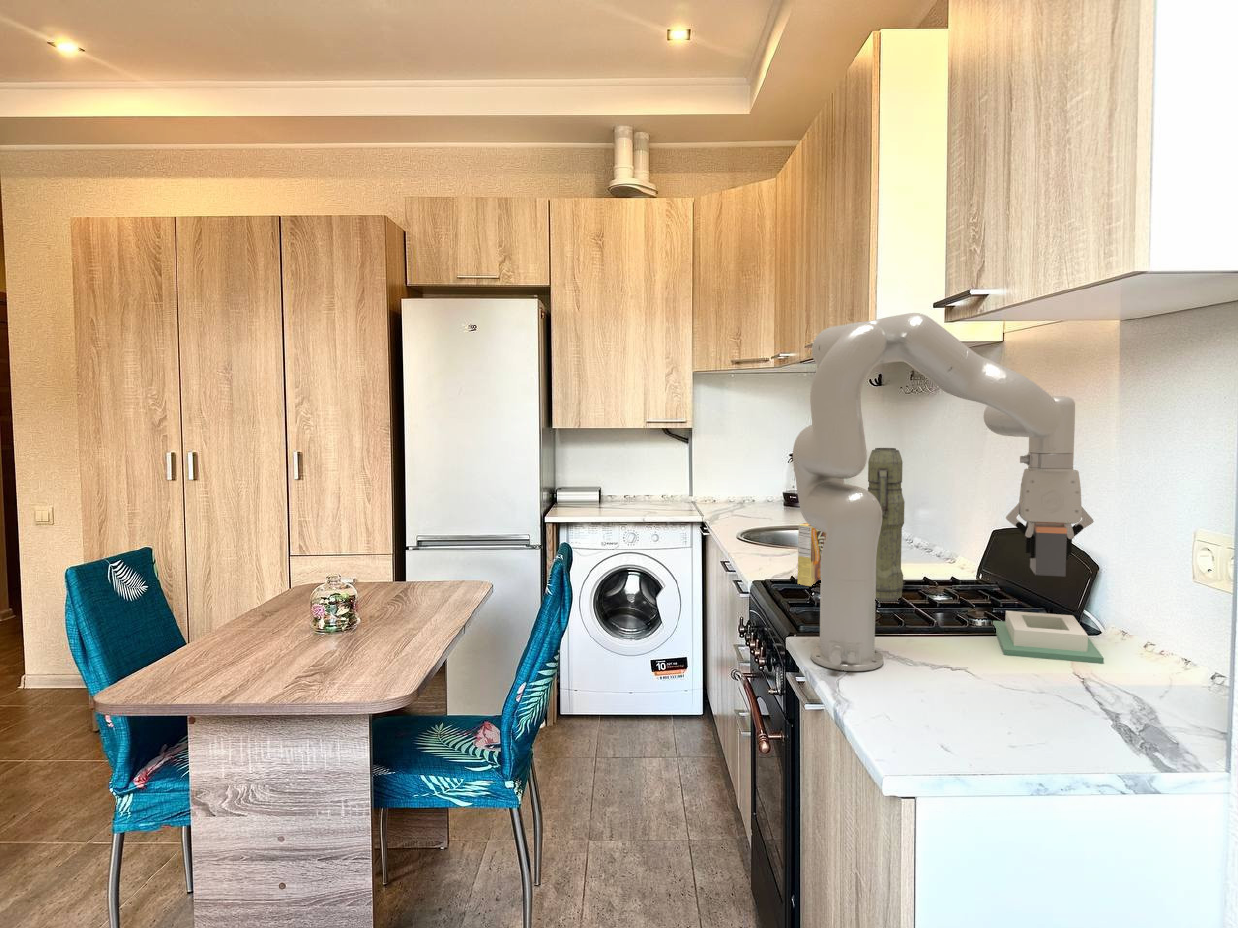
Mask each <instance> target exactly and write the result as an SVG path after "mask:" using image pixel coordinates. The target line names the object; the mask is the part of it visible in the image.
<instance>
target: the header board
mask: <svg viewBox="0 0 1238 928" xmlns="http://www.w3.org/2000/svg"><path fill="white" fill-rule="evenodd" d="M993 625H994V626H995V628H996V633H995V635H996V638H997V640H998V643H999V646H1000V648H1001V650H1002V653H1003V655H1004V656H1013V657H1023V658H1024V657H1026V658H1034V659H1035V658H1037V659H1048V660H1050V659H1051V660H1059V661H1069V662H1070V661H1073V662H1082V663H1092V662H1094V663H1095V664H1104V659H1105V658H1104V657H1103V655H1102V654H1101V652H1100V651H1099V650H1098V648H1097V647H1096V645H1095V644H1094V643H1093V642H1092V640H1091V639H1090V637H1089V635H1088V634H1087V632H1086V630H1085V629H1084V628H1083V627H1082V626H1081V625H1080V623H1079V622H1078V620H1077V619H1076V617H1075V616H1074V615H1073V614H1072V615H1071V614H1056V613H1042V612H1028V611H1016V610H1015V611H1014V610H1005V620H1004V621H1003V620H992V626H993ZM1094 663H1093V664H1094Z"/></svg>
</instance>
